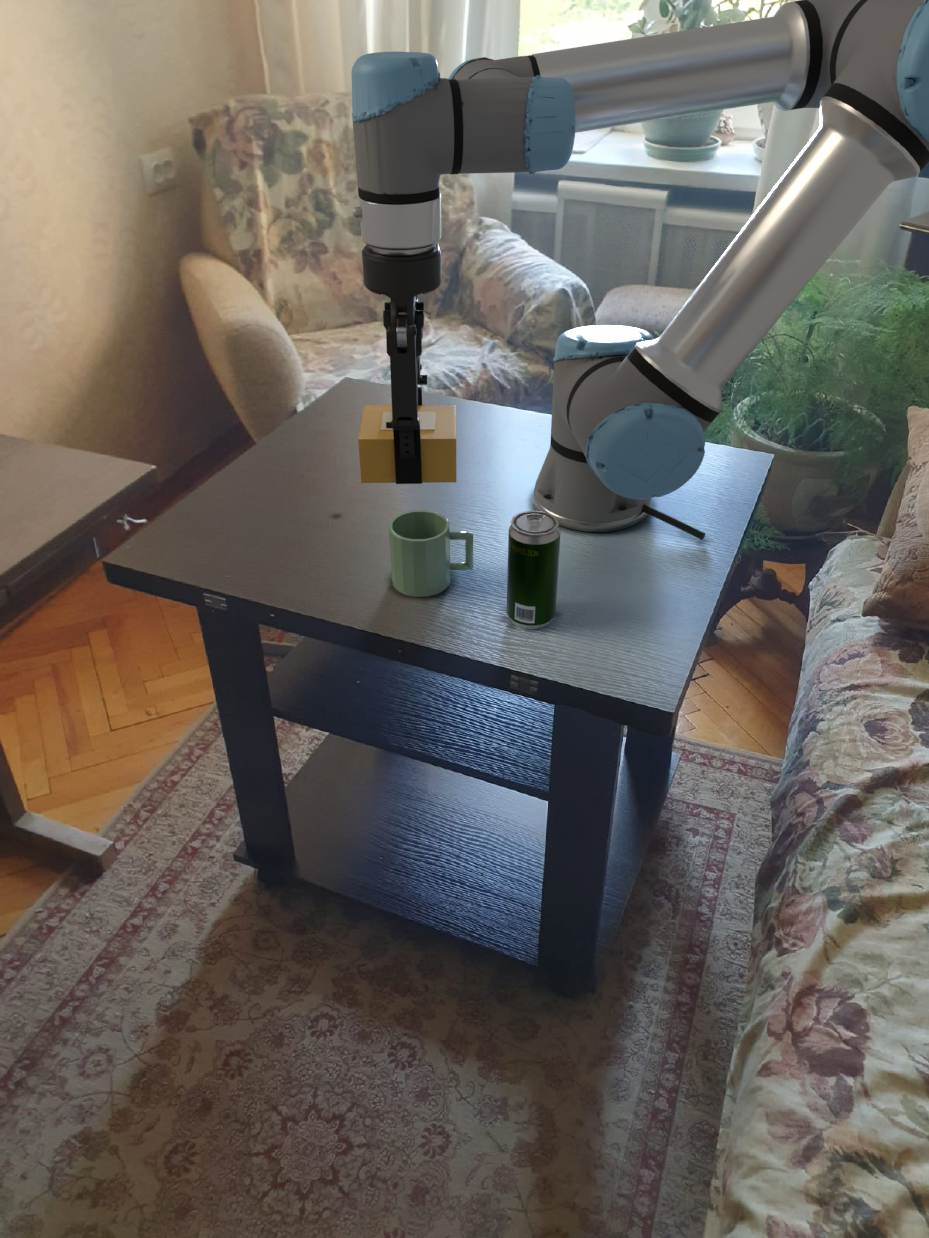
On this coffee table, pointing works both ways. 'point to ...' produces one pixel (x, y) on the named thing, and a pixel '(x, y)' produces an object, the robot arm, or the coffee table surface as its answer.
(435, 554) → the cup
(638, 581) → the coffee table surface
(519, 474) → the coffee table surface
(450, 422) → the tea packet
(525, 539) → the beer can
